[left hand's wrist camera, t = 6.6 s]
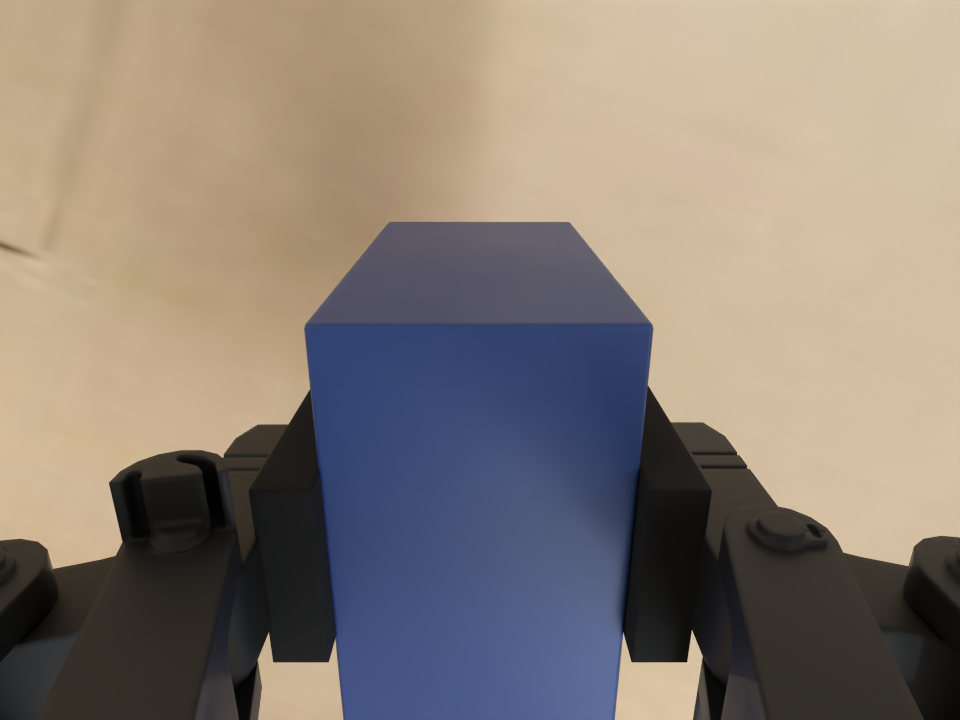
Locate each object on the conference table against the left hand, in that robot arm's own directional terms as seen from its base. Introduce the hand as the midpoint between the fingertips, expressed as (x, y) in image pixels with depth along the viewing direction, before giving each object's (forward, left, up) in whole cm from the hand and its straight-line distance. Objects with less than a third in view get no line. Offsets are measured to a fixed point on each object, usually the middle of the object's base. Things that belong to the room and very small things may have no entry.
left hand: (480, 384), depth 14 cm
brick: (0, 0, -2) cm, 2 cm away
